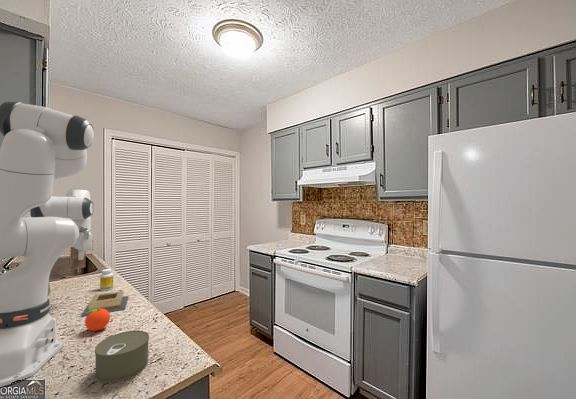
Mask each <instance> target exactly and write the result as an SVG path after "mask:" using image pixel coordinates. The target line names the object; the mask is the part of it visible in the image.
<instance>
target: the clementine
mask: <svg viewBox="0 0 576 399" xmlns="http://www.w3.org/2000/svg"><path fill="white" fill-rule="evenodd" d="M91 311H92V312H91ZM91 311H89V312H90V313H89V314H88V316H85V319H84V326H85V328H86V329H88V330H89V331H91V332H96V331H100V330H103V329H104V328H106V327H107V325H108V324H109V323H110V320H111V314H110V312H108V311H107V310H105V309H102V308H100V309H94V310H91ZM87 313H88V312H87Z"/></svg>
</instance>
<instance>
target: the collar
mask: <svg viewBox="0 0 576 399" xmlns="http://www.w3.org/2000/svg"><path fill="white" fill-rule="evenodd" d="M124 294H125V291H124V290H121V291H120V290H119V291H114V292H105V293H104V292H103V293H98V294H94V295H93V296H92V298H90V299H91V300H90V301H89V302H88V304H87V306H86V307H85V309H84V310H83V312H82V313H81V317H87V316H88V314H89V313H90V312H89V311H91V310H94V309H100V308H102V309H105V310H107V311H108V312H109V313H113V312H117V311H123V310H124V311H125V310H126V308H127V305H128V301H129V298H130V295H124ZM87 312H88V313H87ZM91 312H92V311H91Z"/></svg>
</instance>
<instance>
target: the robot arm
mask: <svg viewBox="0 0 576 399" xmlns="http://www.w3.org/2000/svg"><path fill="white" fill-rule="evenodd" d="M0 133H1V135H2V136H3V140H2V143H1V146H0V260H2V259H8V258H17V257H23V260H22V261H21V263H19V265H17V266H15V267H14V268H12V269H9V270H8V271H6V272H4V273H2V274H1V275H0V388H1V387H4V386H8V385H11V383H12V382H14V381H16V380H21V381H23V380H26V379H28V378H30V377H32V376H33V375H35V374H36V372H38V371H39V370H40V369H42V367H44V366H45V364H46V363H48V361H50V360H51V358H53V357H54V356H55V355H56V354H57V353H58V352H59V351H60V350H61V349H62V348H63V347H64V342H63V341H61V340H60V341H59V340H58V332H57V331H58V330H57V320H56V318H54V317H53V316H52V315H51V314H50V307H51V302H50V299H49V296H48V283H49V284H50V276H51V271H52V269H53V267H54V265H55V264H56V262H57V261H58V259H59V258H60V257H61V256H62V255H63V254H64V253H65V252H67V251H68V250H69V249H71V247H74V248H75V249H77V250H78V256H77V259H78V260H83V259H84V253H85V250H86V251H92V248H93V236H92V235H93V234H92V232H91V230H92V217H91V216H92V215H93V214H94V201H92V198H91V193H90V191H89V190H87V189H85V188H84V189H83V188H73V189H68V190H67V192H66V195H65V196H55V195H54V196H53V193H54V183H55V182H54V181H55V180H58V179H63V178H68V177H73V176H75V175H77V174H79V173H80V172H82V171H83V170H84V169H85V168H86V167H87V163H88V151H87V150H88V148H90V147H91V145H92V144H93V141H94V138H95V132H94V126H93V125H92V123H91V122H90V121H89V120H88V119H86V118H84V117H81V116H79V115H73V114H69V113H66V112H64V111H60V110H56V109H53V108H51V107H46V106H40V105H35V104H27V103H25V102H21V101H5V102H3V103H2V104H0ZM27 212H29V214H30V216H29V217H27V216H26V217H23V216H24V215H25V214H26V213H27ZM25 378H26V379H25ZM22 379H23V380H22ZM12 384H13V383H12Z"/></svg>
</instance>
